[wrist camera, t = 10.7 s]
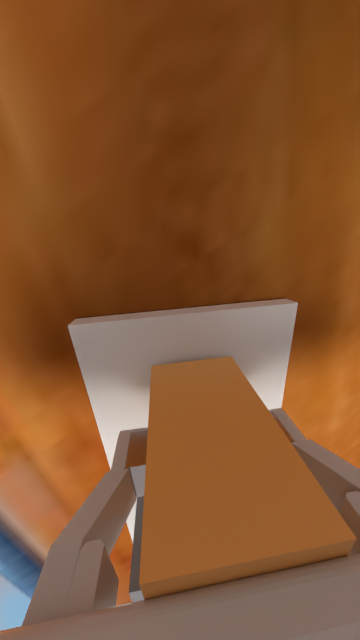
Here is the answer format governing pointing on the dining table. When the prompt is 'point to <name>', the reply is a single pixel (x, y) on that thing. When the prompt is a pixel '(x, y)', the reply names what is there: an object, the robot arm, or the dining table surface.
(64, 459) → the dining table surface
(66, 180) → the dining table surface
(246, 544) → the orange rectangular block
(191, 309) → the breaker panel
